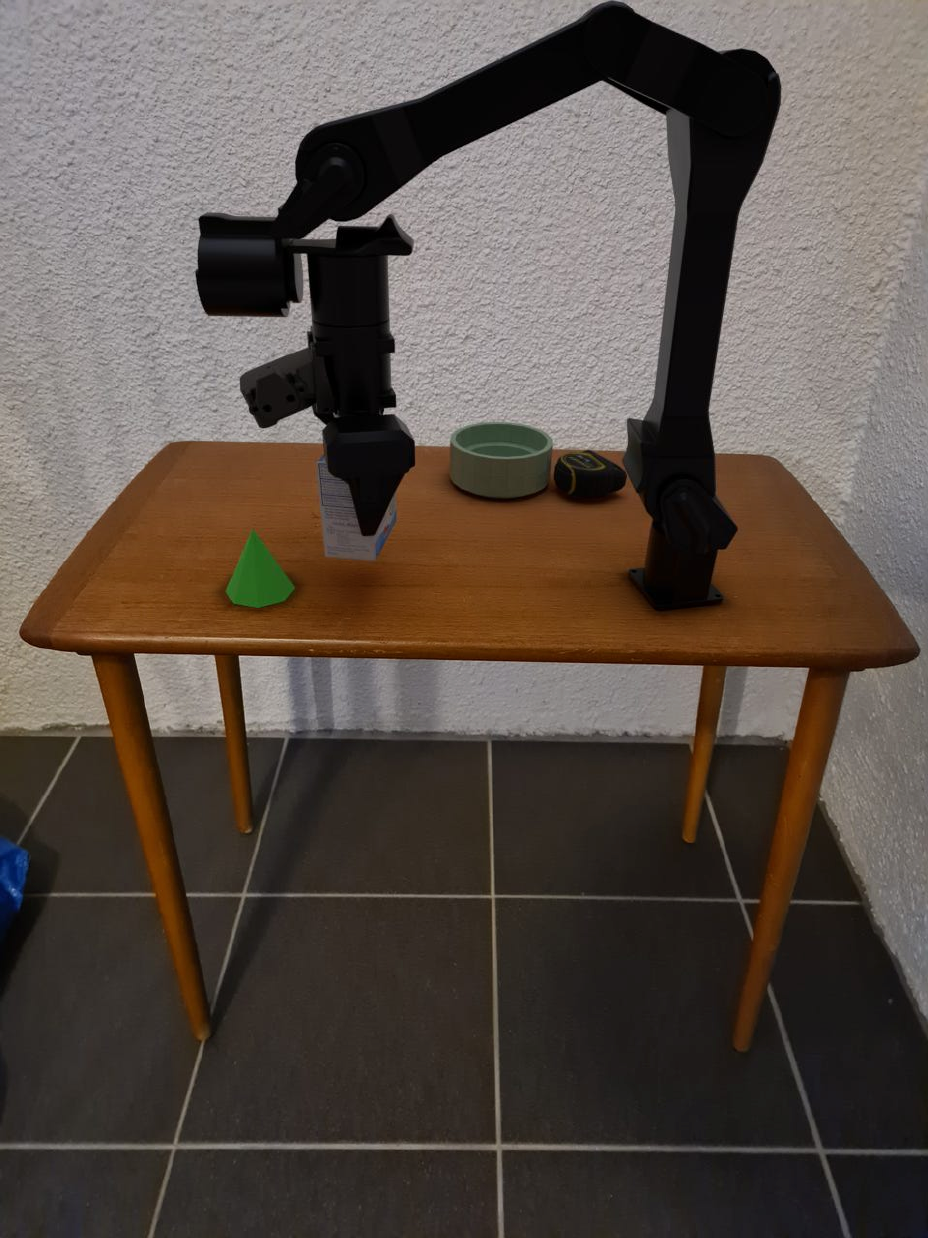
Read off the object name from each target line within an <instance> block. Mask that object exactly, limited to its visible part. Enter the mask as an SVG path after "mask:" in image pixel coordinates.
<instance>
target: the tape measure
mask: <svg viewBox="0 0 928 1238" xmlns="http://www.w3.org/2000/svg"><path fill="white" fill-rule="evenodd" d="M627 478H628V474H627V472H626V470H625V469H623V468H622V467H621V466H619V465H618V464H617V463H615V462H613V461H611V460H609V459H607V458H606V457H604V456H603V455H600V454H598V453H596V452H595V451H593V450H590V449H587V450H586V449H585V450H583V451H571V452H567V453H564V454H562V455H561V456H559V458H557V460H556V464H555V465H554V469H553V481H554V485H555V486H556V488H557V489H558V490H559V491H560V492H563V493H565V495H569V496H570V497H574V498H577V499H600V498H603V497H607V496H608V495H610V494H614V493H616V492H619V491H621V490H622V489H623V488H624V487H626V485H627V484H626V483H627Z"/></svg>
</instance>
